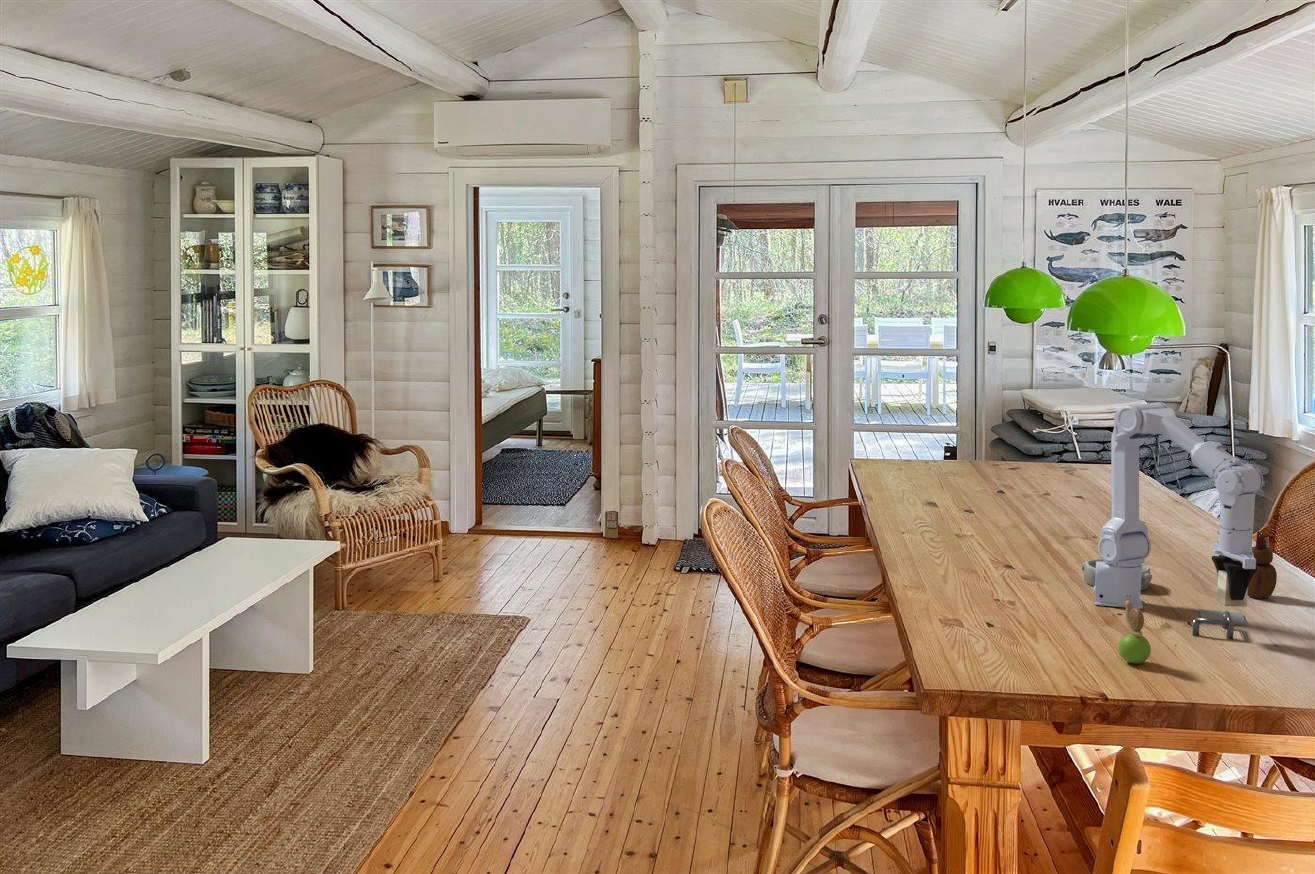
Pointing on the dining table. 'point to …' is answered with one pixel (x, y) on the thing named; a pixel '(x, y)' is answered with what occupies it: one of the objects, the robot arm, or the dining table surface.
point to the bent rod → (1225, 622)
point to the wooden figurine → (1262, 571)
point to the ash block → (1227, 592)
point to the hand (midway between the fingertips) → (1232, 596)
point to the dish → (1090, 565)
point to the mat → (1218, 615)
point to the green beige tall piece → (1134, 636)
